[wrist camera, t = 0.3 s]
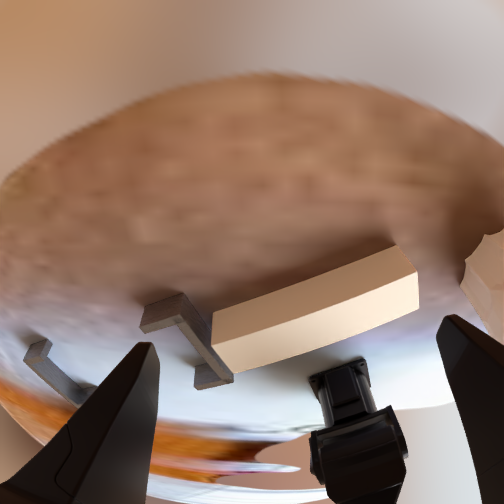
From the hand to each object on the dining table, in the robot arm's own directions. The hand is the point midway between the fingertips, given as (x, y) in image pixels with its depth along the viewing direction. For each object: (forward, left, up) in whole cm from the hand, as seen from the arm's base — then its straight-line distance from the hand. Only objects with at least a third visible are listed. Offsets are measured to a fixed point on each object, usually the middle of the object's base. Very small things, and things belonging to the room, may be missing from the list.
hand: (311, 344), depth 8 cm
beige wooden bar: (-11, 0, -14) cm, 17 cm away
